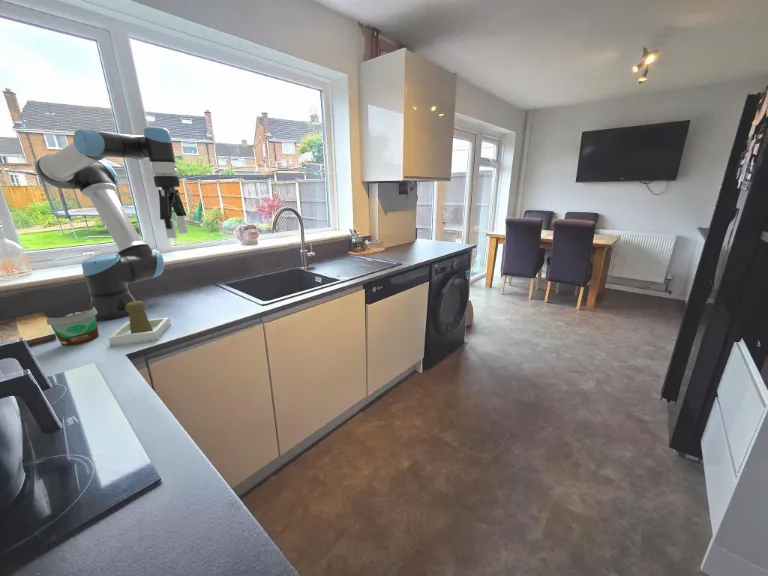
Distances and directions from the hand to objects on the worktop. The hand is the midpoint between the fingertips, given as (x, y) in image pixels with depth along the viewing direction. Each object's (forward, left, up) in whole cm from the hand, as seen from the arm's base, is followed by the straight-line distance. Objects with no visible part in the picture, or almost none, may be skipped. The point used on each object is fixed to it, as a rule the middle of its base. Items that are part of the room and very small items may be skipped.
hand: (178, 235), depth 121 cm
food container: (+19, -28, -31) cm, 46 cm away
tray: (+19, -11, -31) cm, 38 cm away
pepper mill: (+19, -11, -30) cm, 37 cm away
